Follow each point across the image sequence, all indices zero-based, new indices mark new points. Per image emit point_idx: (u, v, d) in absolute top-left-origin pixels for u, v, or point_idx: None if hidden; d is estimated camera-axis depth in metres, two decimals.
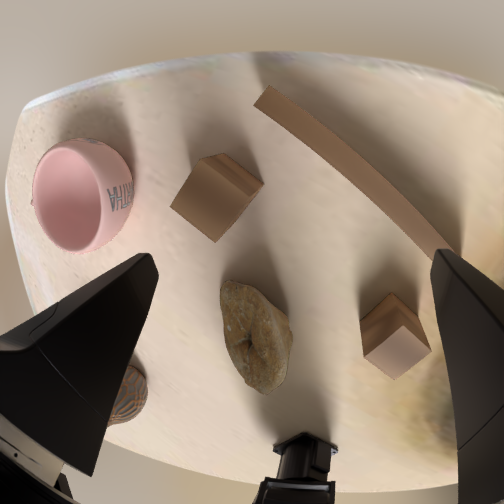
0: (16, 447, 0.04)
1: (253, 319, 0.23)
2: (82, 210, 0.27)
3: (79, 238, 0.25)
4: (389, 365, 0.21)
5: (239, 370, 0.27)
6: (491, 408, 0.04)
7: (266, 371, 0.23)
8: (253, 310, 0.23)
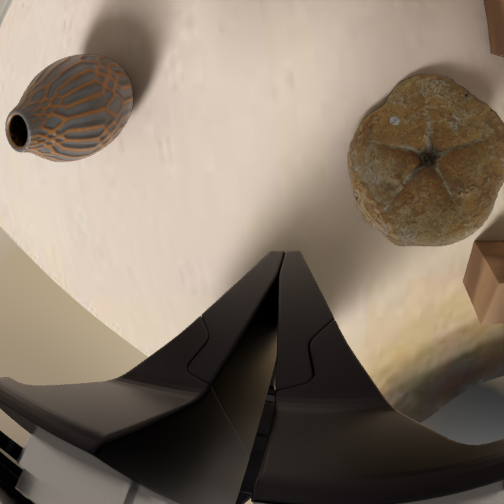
0: None
1: (477, 144, 0.12)
2: None
3: None
4: (497, 308, 0.16)
5: (362, 182, 0.16)
6: None
7: (445, 216, 0.13)
8: (488, 136, 0.11)
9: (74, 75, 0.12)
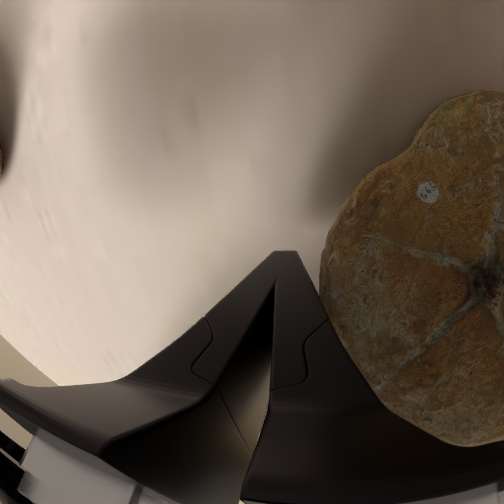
0: None
1: None
2: None
3: None
4: None
5: (342, 326, 0.08)
6: None
7: (488, 413, 0.05)
8: None
9: None
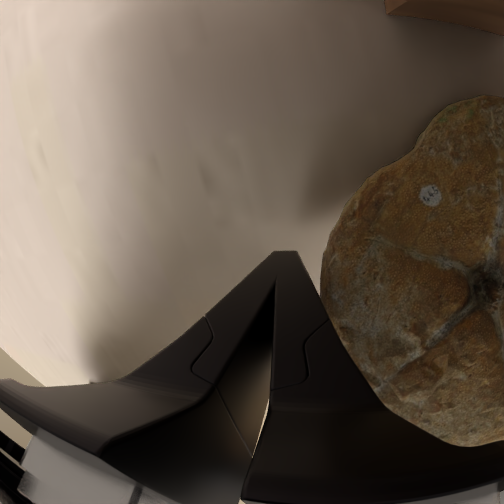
0: None
1: None
2: None
3: None
4: None
5: (343, 327, 0.08)
6: None
7: (486, 415, 0.05)
8: None
9: None
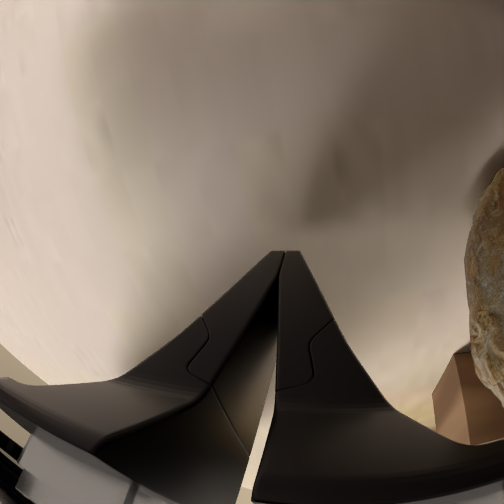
0: None
1: None
2: None
3: None
4: None
5: (492, 313, 0.06)
6: None
7: None
8: None
9: None
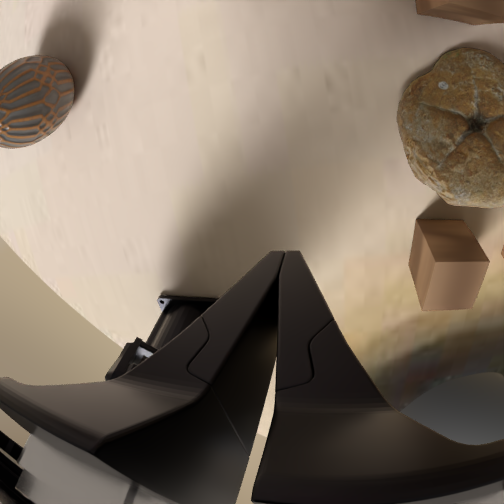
0: None
1: None
2: None
3: None
4: (438, 291, 0.17)
5: (414, 140, 0.14)
6: None
7: (497, 178, 0.11)
8: None
9: (17, 75, 0.12)
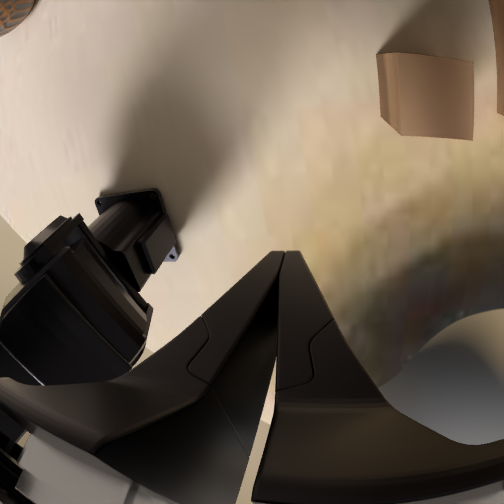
0: None
1: None
2: None
3: None
4: (416, 101, 0.11)
5: None
6: None
7: None
8: None
9: None
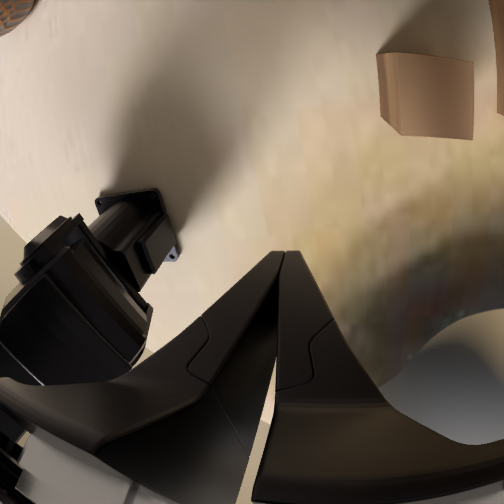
0: None
1: None
2: None
3: None
4: (416, 101, 0.11)
5: None
6: None
7: None
8: None
9: None
